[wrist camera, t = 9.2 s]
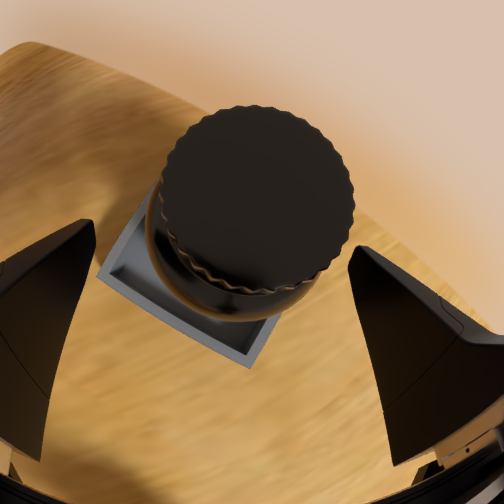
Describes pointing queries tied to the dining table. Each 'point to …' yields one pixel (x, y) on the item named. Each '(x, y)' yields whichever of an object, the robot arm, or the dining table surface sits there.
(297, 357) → the dining table surface
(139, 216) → the holder tray
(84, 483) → the dining table surface
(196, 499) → the dining table surface
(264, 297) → the supplement bottle
